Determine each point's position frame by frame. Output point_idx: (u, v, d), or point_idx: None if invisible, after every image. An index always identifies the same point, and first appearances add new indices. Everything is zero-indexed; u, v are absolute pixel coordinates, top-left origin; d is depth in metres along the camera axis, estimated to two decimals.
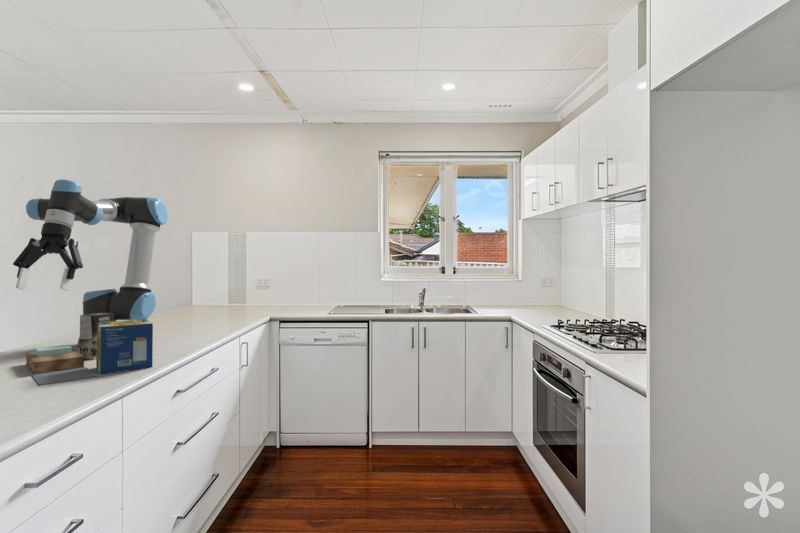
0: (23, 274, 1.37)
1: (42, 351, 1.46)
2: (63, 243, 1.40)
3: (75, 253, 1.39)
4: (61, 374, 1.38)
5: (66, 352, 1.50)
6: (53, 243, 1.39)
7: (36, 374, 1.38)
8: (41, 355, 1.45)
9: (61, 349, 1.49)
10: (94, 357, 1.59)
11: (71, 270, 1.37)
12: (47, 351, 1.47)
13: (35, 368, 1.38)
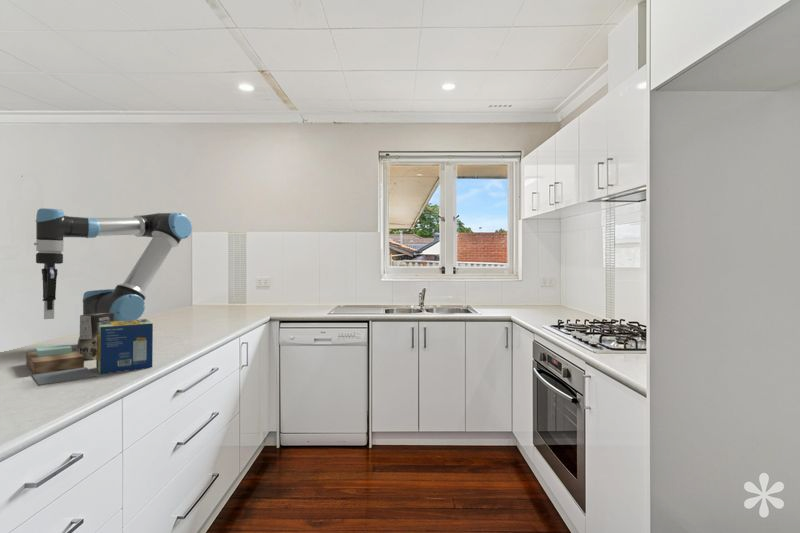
0: None
1: (42, 351, 1.46)
2: (47, 271, 1.52)
3: (48, 287, 1.51)
4: (61, 374, 1.38)
5: (66, 352, 1.50)
6: (43, 272, 1.53)
7: (36, 374, 1.38)
8: (41, 355, 1.45)
9: (61, 349, 1.49)
10: (94, 357, 1.59)
11: (47, 302, 1.53)
12: (47, 351, 1.47)
13: (35, 368, 1.38)
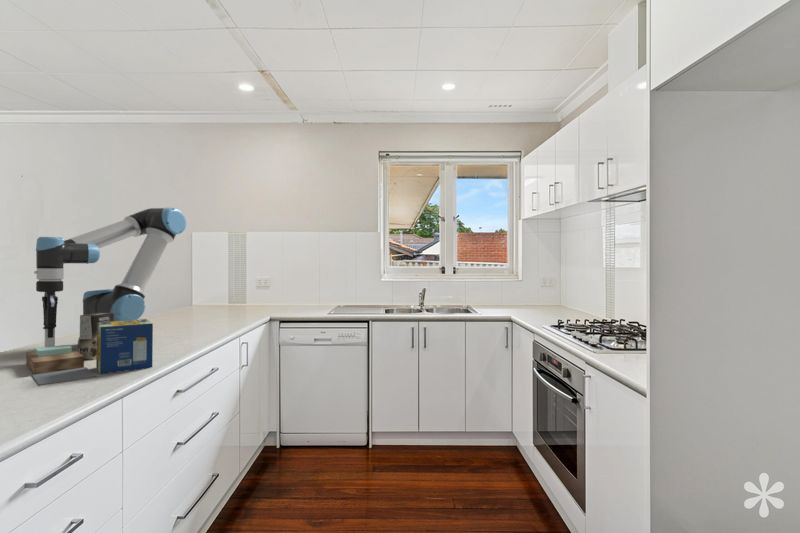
0: None
1: (42, 351, 1.46)
2: (48, 300, 1.52)
3: (49, 315, 1.51)
4: (61, 374, 1.38)
5: (66, 352, 1.50)
6: (43, 300, 1.53)
7: (36, 374, 1.38)
8: (41, 355, 1.45)
9: (61, 349, 1.49)
10: (94, 357, 1.59)
11: (48, 330, 1.54)
12: (47, 351, 1.47)
13: (35, 368, 1.38)
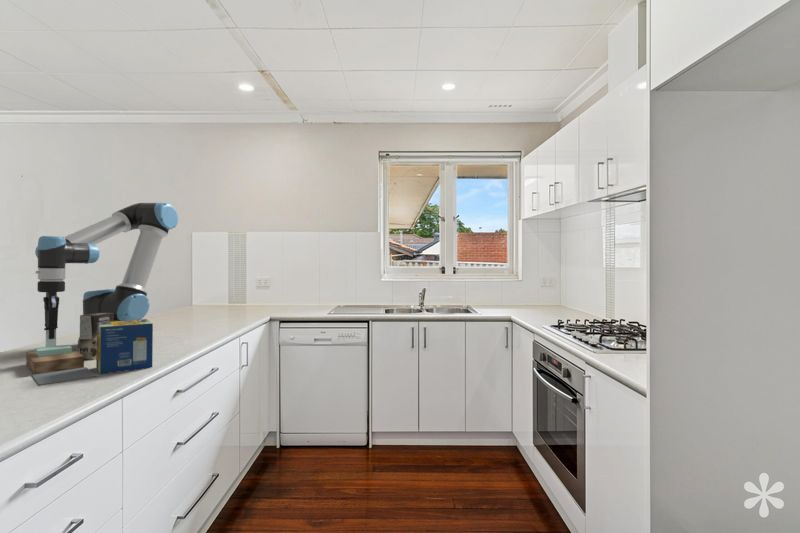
0: None
1: (42, 351, 1.46)
2: (49, 300, 1.49)
3: (50, 316, 1.48)
4: (61, 374, 1.38)
5: (66, 352, 1.50)
6: (44, 300, 1.50)
7: (36, 374, 1.38)
8: (41, 355, 1.45)
9: (61, 349, 1.49)
10: (94, 357, 1.59)
11: (49, 331, 1.51)
12: (47, 351, 1.46)
13: (35, 368, 1.38)
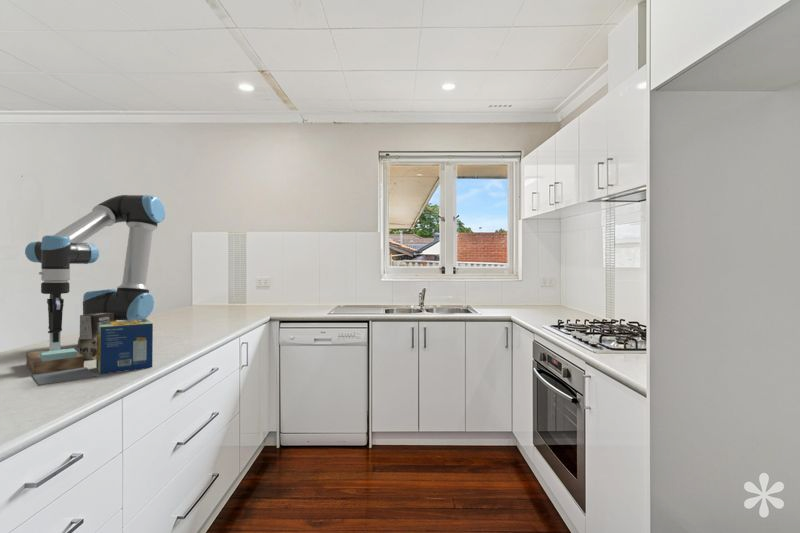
0: None
1: (46, 355, 1.40)
2: (53, 302, 1.44)
3: (54, 319, 1.43)
4: (61, 374, 1.38)
5: (71, 356, 1.45)
6: (48, 302, 1.44)
7: (36, 374, 1.38)
8: (45, 359, 1.40)
9: (66, 353, 1.44)
10: (94, 357, 1.59)
11: (53, 334, 1.45)
12: (51, 355, 1.41)
13: (35, 368, 1.38)
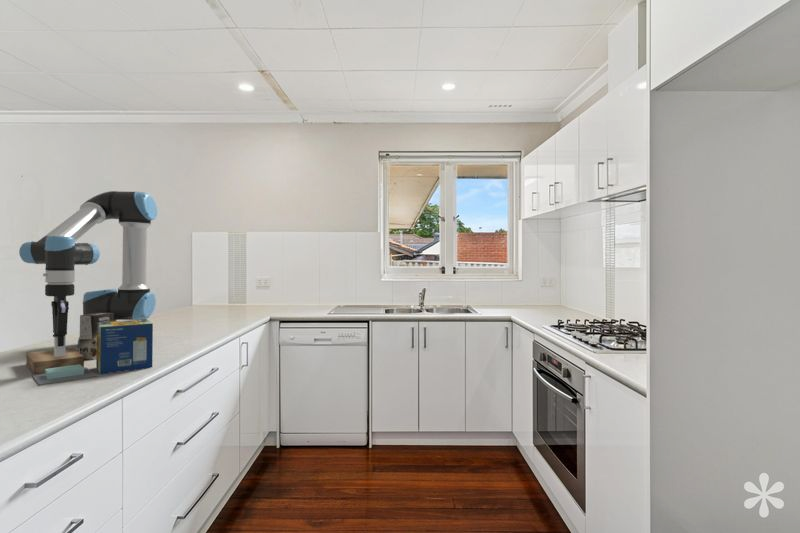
0: None
1: None
2: (58, 305, 1.39)
3: (59, 322, 1.38)
4: None
5: None
6: (53, 305, 1.40)
7: (36, 374, 1.38)
8: None
9: None
10: (94, 357, 1.59)
11: (58, 338, 1.40)
12: None
13: (35, 368, 1.38)
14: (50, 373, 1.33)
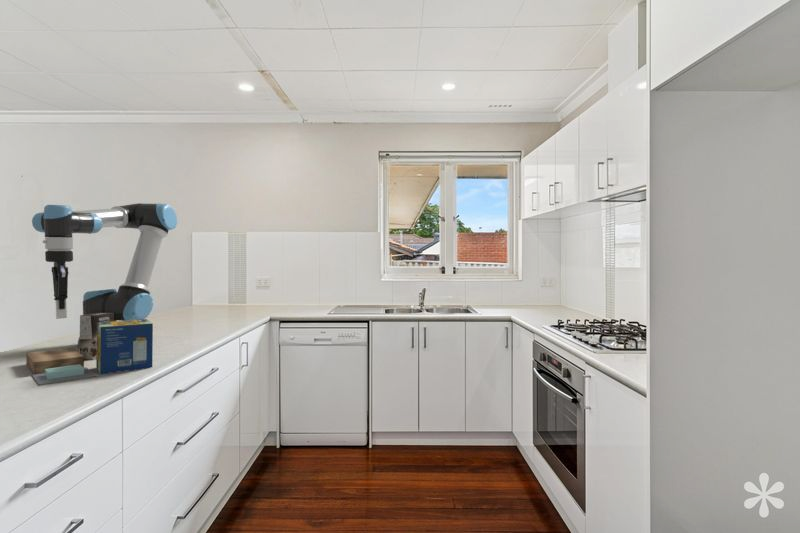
0: None
1: None
2: (58, 270, 1.48)
3: (60, 286, 1.47)
4: None
5: None
6: (53, 270, 1.48)
7: (36, 374, 1.38)
8: None
9: None
10: (94, 357, 1.59)
11: (59, 301, 1.50)
12: None
13: (35, 368, 1.38)
14: (50, 373, 1.33)
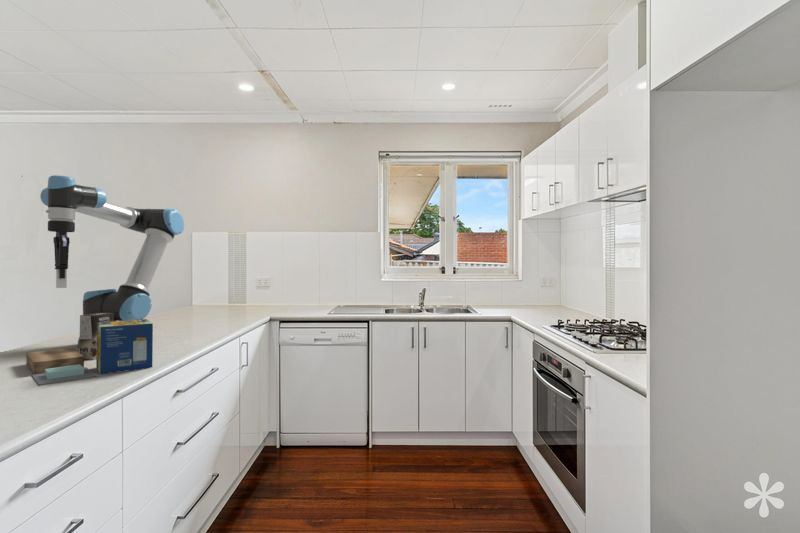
0: None
1: None
2: (60, 239, 1.50)
3: (61, 255, 1.50)
4: None
5: None
6: (55, 240, 1.51)
7: (36, 374, 1.38)
8: None
9: None
10: (94, 357, 1.59)
11: (60, 271, 1.52)
12: None
13: (35, 368, 1.38)
14: (50, 373, 1.33)
